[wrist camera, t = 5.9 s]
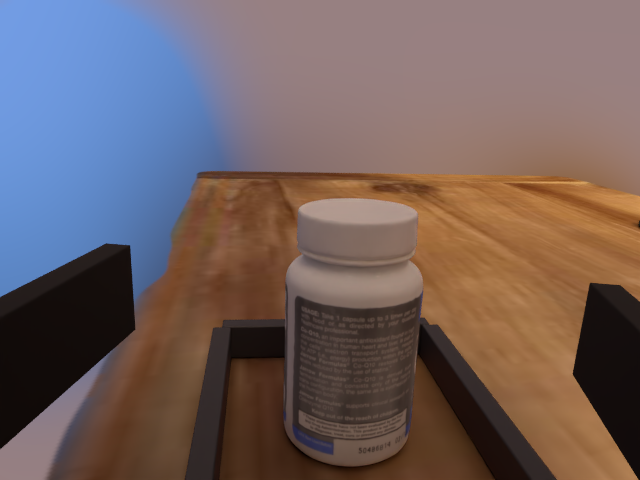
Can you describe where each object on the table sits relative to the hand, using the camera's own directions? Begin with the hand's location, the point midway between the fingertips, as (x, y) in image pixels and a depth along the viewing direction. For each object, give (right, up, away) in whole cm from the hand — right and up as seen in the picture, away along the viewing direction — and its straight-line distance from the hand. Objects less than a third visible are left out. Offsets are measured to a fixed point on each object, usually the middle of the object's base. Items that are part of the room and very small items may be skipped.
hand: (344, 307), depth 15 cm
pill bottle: (0, -5, +5) cm, 7 cm away
